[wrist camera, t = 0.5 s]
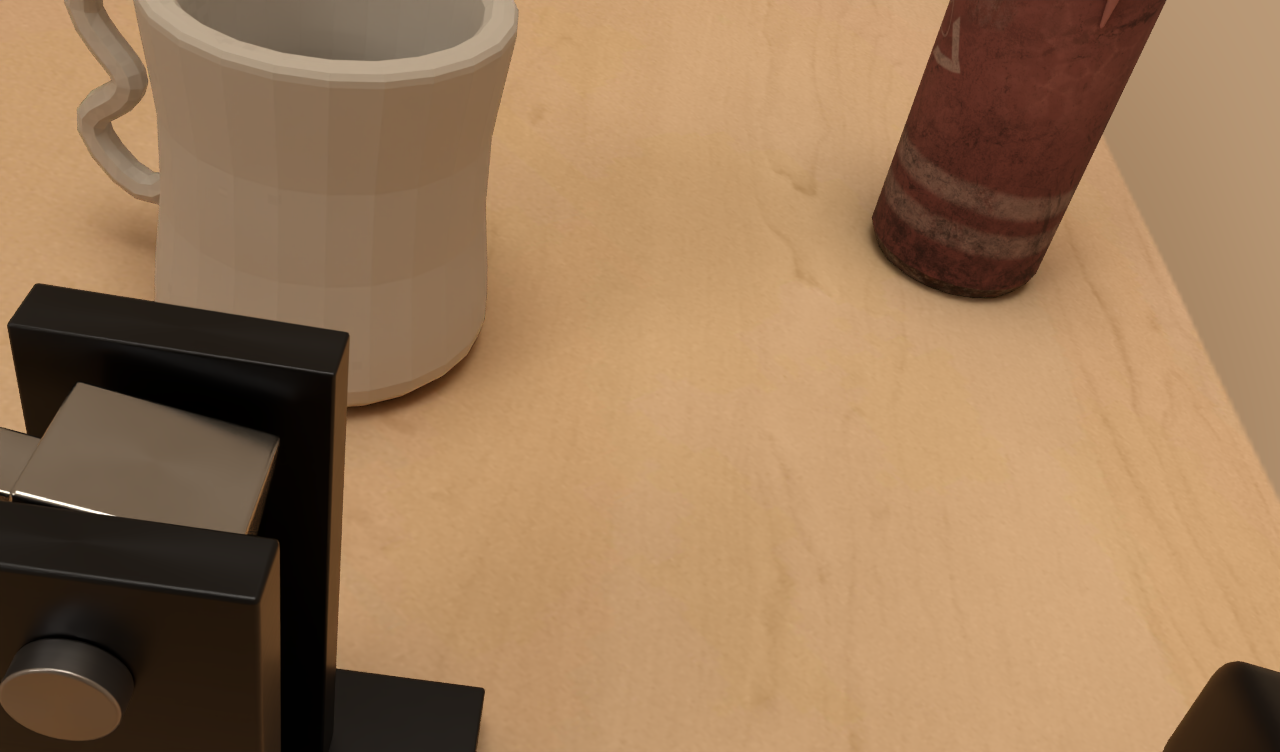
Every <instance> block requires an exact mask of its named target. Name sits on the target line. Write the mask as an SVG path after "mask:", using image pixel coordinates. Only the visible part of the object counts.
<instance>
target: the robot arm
mask: <svg viewBox="0 0 1280 752" xmlns="http://www.w3.org/2000/svg"><path fill="white" fill-rule="evenodd" d="M1163 752H1280V672H1277V671H1273V670H1270V669H1266V668H1263V667H1259V666H1256V665H1252V664H1249V663H1245V662H1240V661H1236V662H1230V663H1227V664H1225V665H1223V666H1222V667H1220V668H1219V669H1218V670H1217V671H1216V672H1215V673H1214V675H1213V676H1212V677H1211V678H1210V680H1209V681H1208V683H1207V684H1206V686H1205V687H1204V689H1203V690H1202V692H1201V693H1200V695H1199V696H1198V698H1197V699H1196V700H1195V702H1194V703H1193V705H1192V706H1191V708H1190V709H1189V711H1188V712H1187V714H1186V715H1185V717H1184V718H1183V720H1182V721H1181V723H1180V724H1179V725H1178V727H1177V728H1176V730H1175V731H1174V733H1173V734H1172V736H1171V737H1170V739H1169V740H1168V742H1167V744H1166V746H1165V747H1164V750H1163Z"/></svg>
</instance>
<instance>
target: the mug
mask: <svg viewBox="0 0 1280 752" xmlns="http://www.w3.org/2000/svg"><path fill="white" fill-rule="evenodd" d="M133 1H134V6H135V11H136V16H137V21H138V26H139V31H140V35H141V40H142V45H143V49H144V54H145V59H146V63H147V68H148V73H149V77H150V82H151V87H152V92H153V97H154V103H155V108H156V113H157V128H158V147H159V168H160V173H159V172H153V171H152V170H150V169H149V168H147V167H146V166H145V165H143V164H142V163H140V162H139V161H138V160H137V159H136V158H135V157H134V156H133V155H132V153H131V152H130V151H129V150H128V149H127V148H126V147H125V146H124V145H123V143H122V142H121V140H120V139H119V137H118V136H117V134H116V133H115V131H114V130H113V127H112V124H111V121H112V120H114V119H116V118H118V117H120V116H122V115H124V114H126V113H128V112H129V111H131V110H132V109H133V108H134V107H135V106H136V105H137V104H138V103H139V102H140V100H141V99H142V97H143V96H144V94H145V92H146V89H147V85H148V78H147V74H146V69H145V67H144V65H143V63H142V62H141V60H140V58H139V57H138V55H137V54H136V53H135V51H134V50H133V49H132V47H131V46H130V45H129V44H128V42H127V41H126V40H125V38H124V37H123V36H122V35H121V33H120V32H119V31H118V29H117V28H116V26H115V25H114V23H113V22H112V21H111V19H110V18H109V16H108V14H107V12H106V10H105V9H104V7H103V0H64V3H65V5H66V8H67V10H68V13H69V15H70V18H71V20H72V23H73V25H74V27H75V30H76V31H77V33H78V34H79V36H80V37H81V39H82V40H83V42H84V43H85V45H86V46H87V47H88V49H89V50H90V52H91V53H92V54H93V56H94V57H95V58H96V59H97V61H98V62H99V63H100V64H101V66H102V67H103V68H104V70H105V71H106V72H107V73H108V75H109V76H110V78H111V81H109V82H107V83H105V84H103V85H101V86H100V87H98V88H96V89H94V90H92V91H91V92H90V93H89V94H88V95H87V97H86V98H85V99H84V100H83V101H82V103H81V104H80V105H79V107H78V108H77V130H78V132H79V134H80V136H81V137H82V139H83V141H84V143H85V145H86V147H87V149H88V151H89V152H90V154H91V156H92V158H93V159H94V160H95V161H96V162H97V164H98V165H99V166H100V167H101V168H102V169H103V171H104V172H105V173H106V174H107V175H108V176H109V178H110V179H111V180H112V181H113V182H114V183H116V184H117V185H118V186H120V187H121V188H122V189H124V190H125V191H126V192H128V193H129V194H130V195H132V196H133V197H134V198H136V199H139V200H143V201H147V202H151V203H155V204H159V215H158V227H157V239H156V253H155V302H161V303H167V304H173V305H180V306H186V307H192V308H199V309H205V310H211V311H218V312H224V313H230V314H237V315H243V316H249V317H256V318H262V319H268V320H275V321H281V322H287V323H294V324H300V325H306V326H313V327H319V328H325V329H332V330H338V331H344V332H348V333H349V335H350V344H349V368H348V392H347V407H350V406H365V405H368V404H372V403H376V402H380V401H384V400H388V399H392V398H396V397H400V396H403V395H405V394H407V393H409V392H411V391H413V390H415V389H417V388H419V387H421V386H423V385H425V384H427V383H429V382H431V381H433V380H435V379H438V378H440V377H442V376H443V375H445V374H446V373H447V372H448V371H449V370H450V369H451V368H453V367H454V366H455V365H456V364H457V363H458V362H459V361H461V360H462V359H463V358H464V357H465V356H466V355H467V354H468V352H469V351H470V349H471V347H472V345H473V343H474V342H475V340H476V338H477V336H478V334H479V333H480V330H481V328H482V325H483V322H484V319H485V309H486V298H487V238H486V195H487V185H488V174H489V163H490V152H491V141H492V135H493V130H494V126H495V122H496V117H497V113H498V109H499V105H500V101H501V97H502V93H503V89H504V85H505V81H506V77H507V73H508V69H509V65H510V61H511V57H512V53H513V49H514V45H515V41H516V37H517V25H518V8H517V6H516V4H515V2H514V0H133Z"/></svg>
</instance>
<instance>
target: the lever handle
mask: <svg viewBox="0 0 1280 752" xmlns="http://www.w3.org/2000/svg"><path fill="white" fill-rule="evenodd" d="M280 444H281V442H280V437H279V436H278V435H276V434H273V433H269V432H265V431H262V430H258V429H254V428H251V427H247V426H244V425H240V424H236V423H233V422H229V421H225V420H222V419H218V418H214V417H211V416H207V415H203V414H200V413H196V412H193V411H189V410H185V409H182V408H178V407H174V406H171V405H167V404H163V403H160V402H156V401H153V400H149V399H145V398H142V397H138V396H134V395H131V394H127V393H123V392H120V391H116V390H112V389H109V388H105V387H102V386H98V385H94V384H91V383H87V382H83V381H77V382H76V383H75V384H74V385H73V386H72V388H71V389H70V391H69V393H68V394H67V396H66V398H65V400H64V401H63V403H62V405H61V406H60V408H59V410H58V411H57V413H56V415H55V416H54V418H53V420H52V422H51V423H50V425H49V427H48V428H47V430H46V432H45V433H44V435H43V437H42V438H40V437H36V436H33V435H29V434H25V433H21V432H18V431H14V430H10V429H6V428H2V427H0V500H4V501H12V502H19V503H26V504H33V505H40V506H47V507H54V508H61V509H68V510H76V511H83V512H90V513H97V514H104V515H111V516H118V517H125V518H132V519H140V520H147V521H154V522H161V523H168V524H175V525H182V526H189V527H196V528H203V529H211V530H218V531H225V532H232V533H239V534H246V535H253V536H257V535H258V531H259V527H260V523H261V519H262V515H263V511H264V507H265V503H266V499H267V495H268V491H269V487H270V483H271V479H272V475H273V471H274V467H275V463H276V459H277V456H278V452H279V448H280Z"/></svg>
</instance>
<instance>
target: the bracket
mask: <svg viewBox="0 0 1280 752" xmlns="http://www.w3.org/2000/svg"><path fill="white" fill-rule="evenodd" d="M7 328H8V333H9V339H10V344H11V350H12V355H13V361H14V366H15V371H16V377H17V382H18V388H19V393H20V399H21V404H22V409H23V415H24V420H25V426H26V431H27V434H29V435H33V436H36V437H40V438H42V437H43V435H44V433H45V432H46V430H47V428H48V427H49V425H50V423H51V422H52V420H53V418H54V416H55V415H56V413H57V411H58V410H59V408H60V406H61V405H62V403H63V401H64V400H65V398H66V396H67V394H68V393H69V391H70V389H71V388H72V386H73V385H74V384H75V383H76V382H77V381H83V382H87V383H91V384H94V385H98V386H102V387H105V388H109V389H112V390H116V391H120V392H123V393H127V394H131V395H134V396H138V397H142V398H145V399H149V400H153V401H156V402H160V403H163V404H167V405H171V406H174V407H178V408H182V409H185V410H189V411H193V412H196V413H200V414H203V415H207V416H211V417H214V418H218V419H222V420H225V421H229V422H233V423H236V424H240V425H244V426H247V427H251V428H254V429H258V430H262V431H265V432H269V433H273V434H276V435H278V436H279V437H280V442H281V444H280V448H279V452H278V456H277V459H276V463H275V467H274V471H273V475H272V479H271V483H270V487H269V491H268V495H267V499H266V503H265V507H264V511H263V515H262V519H261V523H260V527H259V531H258V535H257V536H253V535H246V534H239V533H232V532H225V531H218V530H211V529H203V528H196V527H189V526H182V525H175V524H168V523H161V522H154V521H147V520H140V519H132V518H125V517H118V516H111V515H104V514H97V513H90V512H83V511H76V510H68V509H61V508H54V507H47V506H40V505H33V504H26V503H19V502H12V501H4V500H0V752H476V749H477V742H478V735H479V729H480V722H481V715H482V708H483V701H484V694H485V690H484V688H480V687H472V686H465V685H457V684H449V683H442V682H434V681H427V680H419V679H411V678H404V677H396V676H388V675H381V674H373V673H366V672H358V671H350V670H343V669H336V655H337V631H338V607H339V584H340V560H341V536H342V512H343V488H344V464H345V440H346V416H347V392H348V368H349V344H350V335H349V333H348V332H344V331H338V330H332V329H325V328H319V327H313V326H306V325H300V324H294V323H287V322H281V321H275V320H268V319H262V318H256V317H249V316H243V315H237V314H230V313H224V312H218V311H211V310H205V309H199V308H192V307H186V306H180V305H173V304H167V303H161V302H154V301H148V300H142V299H135V298H129V297H123V296H116V295H110V294H104V293H97V292H91V291H85V290H78V289H72V288H66V287H59V286H53V285H46V284H40V283H37V284H35V285H34V286H33V288H32V289H31V291H30V292H29V294H28V295H27V296H26V298H25V299H24V301H23V302H22V304H21V305H20V307H19V308H18V309H17V311H16V312H15V314H14V315H13V317H12V318H11V319H10V321H9V322H8V324H7Z"/></svg>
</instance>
